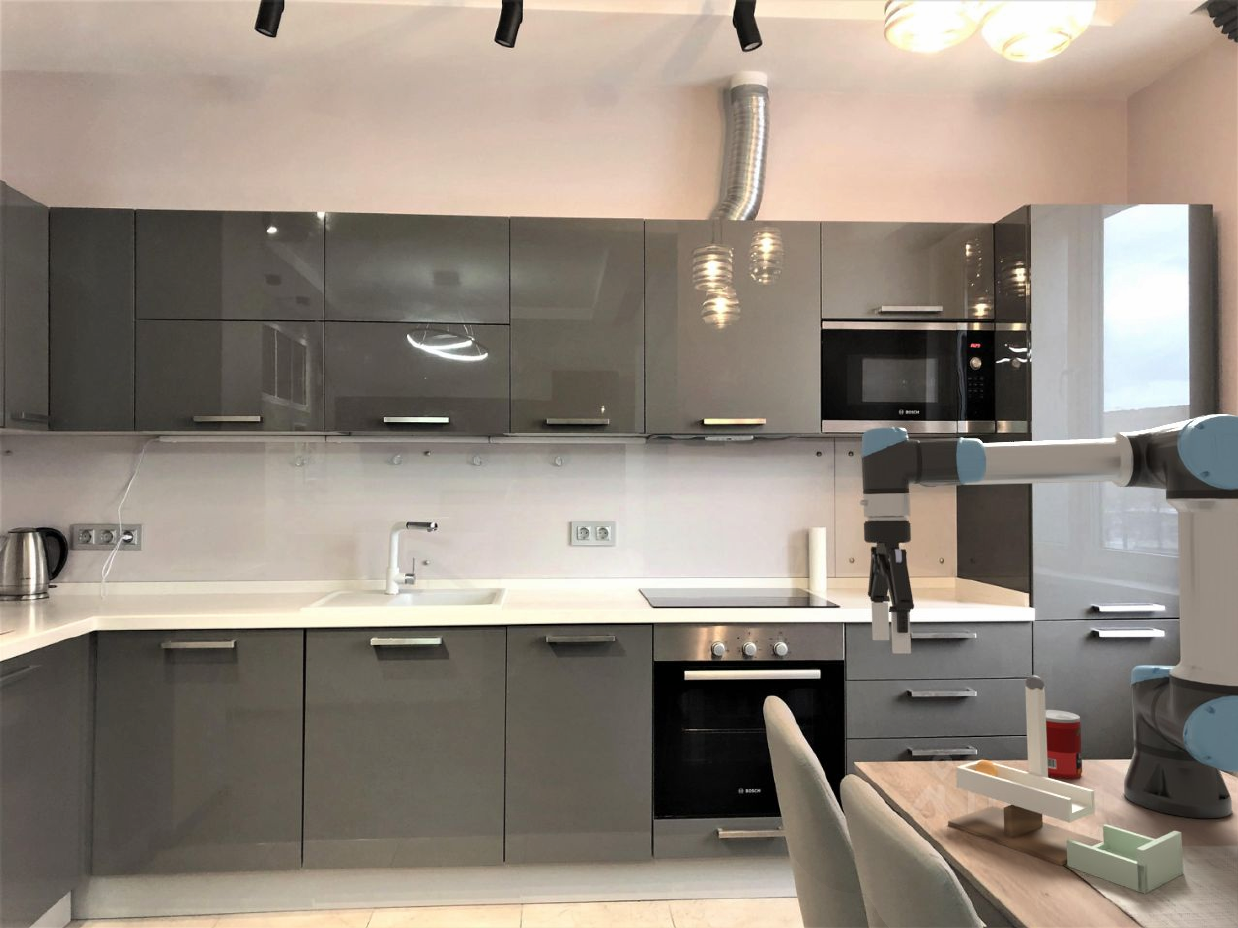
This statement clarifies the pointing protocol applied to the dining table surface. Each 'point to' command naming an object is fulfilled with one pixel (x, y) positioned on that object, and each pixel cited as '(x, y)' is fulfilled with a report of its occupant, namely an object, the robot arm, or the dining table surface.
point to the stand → (1021, 832)
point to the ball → (986, 767)
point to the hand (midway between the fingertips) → (890, 646)
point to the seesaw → (1031, 772)
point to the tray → (1129, 858)
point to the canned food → (1063, 744)
